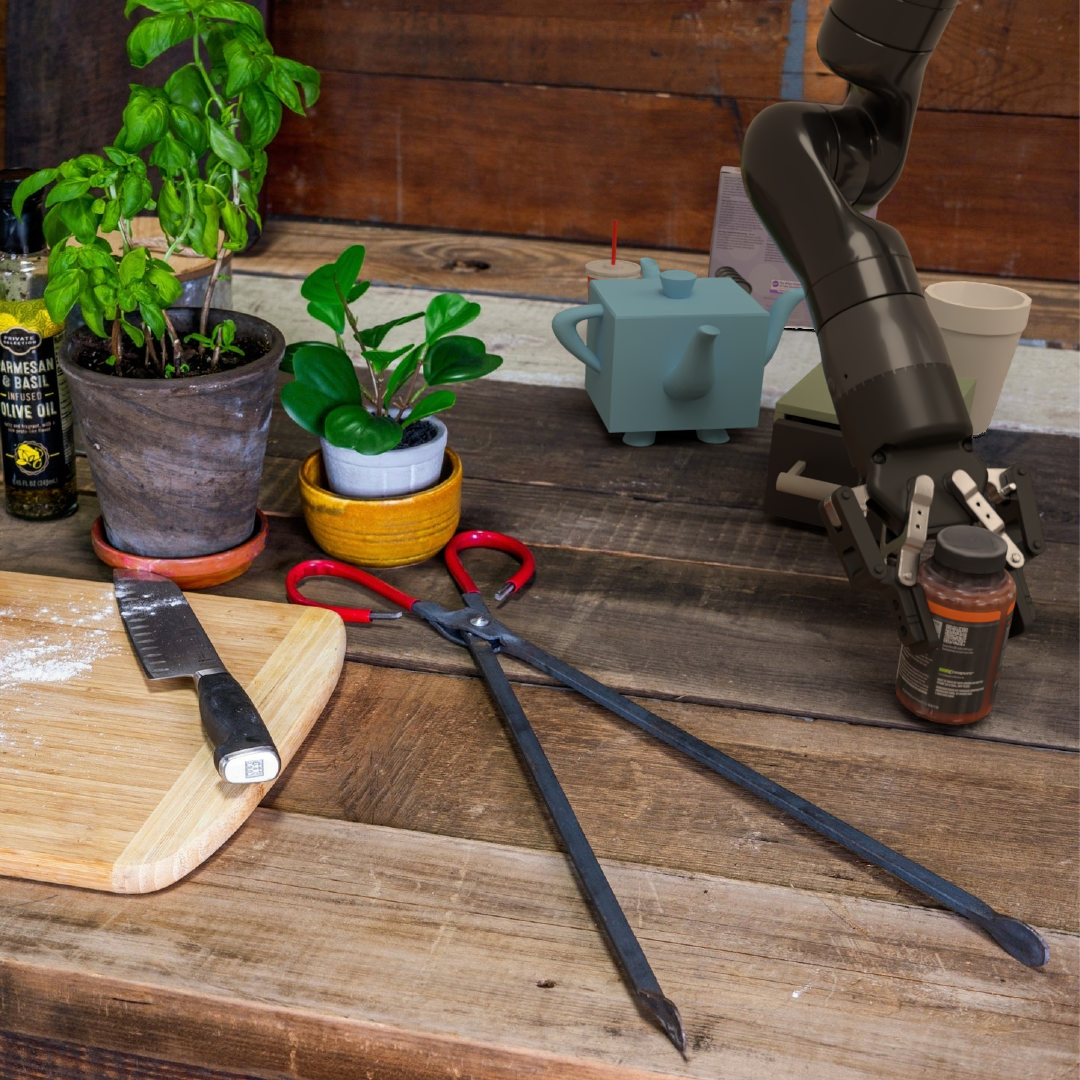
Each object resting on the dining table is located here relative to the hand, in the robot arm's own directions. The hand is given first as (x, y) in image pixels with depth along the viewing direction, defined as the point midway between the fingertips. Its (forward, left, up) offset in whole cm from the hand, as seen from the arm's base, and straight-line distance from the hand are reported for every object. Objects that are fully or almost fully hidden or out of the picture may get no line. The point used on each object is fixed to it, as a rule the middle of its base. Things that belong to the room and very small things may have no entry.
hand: (973, 642), depth 74 cm
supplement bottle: (+1, -1, -5) cm, 6 cm away
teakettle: (+34, -37, -6) cm, 51 cm away
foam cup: (+11, -51, -6) cm, 53 cm away
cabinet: (+14, -30, -6) cm, 34 cm away
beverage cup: (+50, -55, -6) cm, 75 cm away
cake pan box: (+36, -74, -6) cm, 83 cm away
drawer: (+14, -25, -5) cm, 29 cm away
